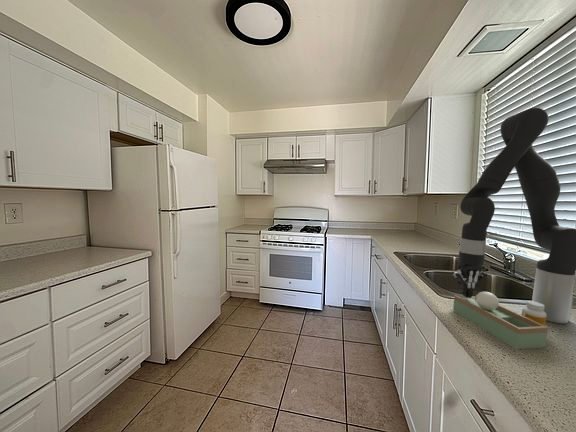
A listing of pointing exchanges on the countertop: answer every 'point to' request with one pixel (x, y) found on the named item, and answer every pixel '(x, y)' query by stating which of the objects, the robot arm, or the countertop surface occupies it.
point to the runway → (503, 324)
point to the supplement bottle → (534, 312)
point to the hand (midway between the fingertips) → (467, 296)
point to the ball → (487, 300)
